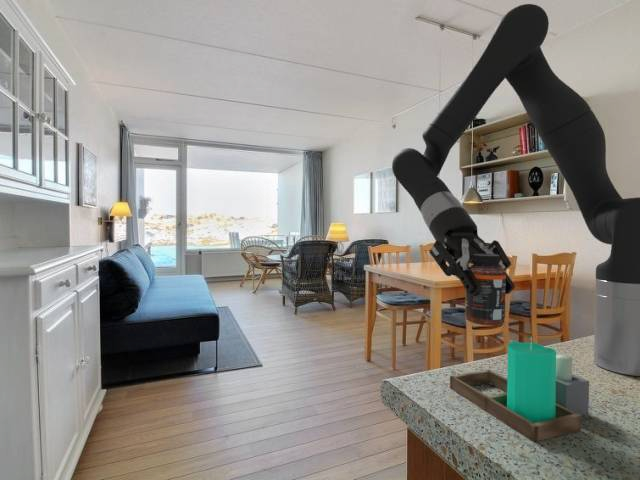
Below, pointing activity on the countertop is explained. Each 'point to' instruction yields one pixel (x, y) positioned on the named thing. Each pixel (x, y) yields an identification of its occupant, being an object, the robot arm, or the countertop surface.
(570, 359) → the pale green rounded peg
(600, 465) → the countertop surface
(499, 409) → the wooden tray
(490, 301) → the supplement bottle
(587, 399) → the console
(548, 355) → the candle
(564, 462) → the countertop surface
